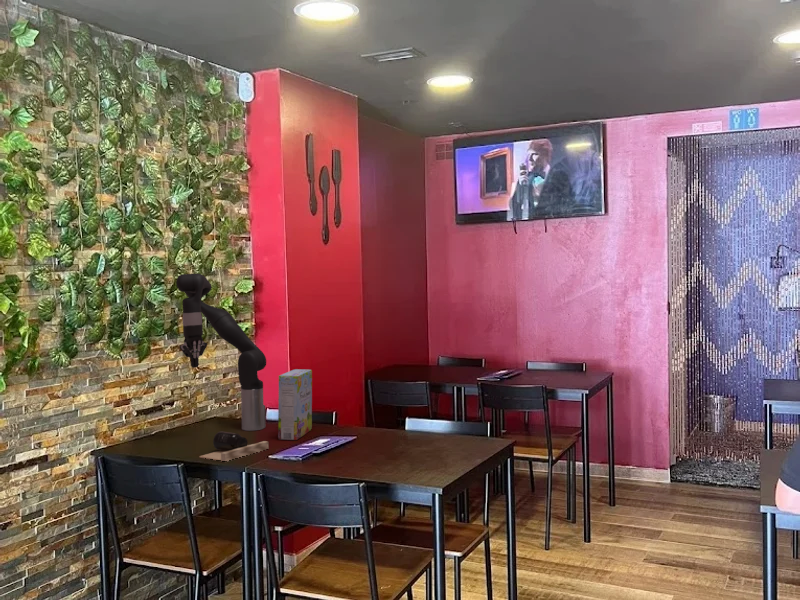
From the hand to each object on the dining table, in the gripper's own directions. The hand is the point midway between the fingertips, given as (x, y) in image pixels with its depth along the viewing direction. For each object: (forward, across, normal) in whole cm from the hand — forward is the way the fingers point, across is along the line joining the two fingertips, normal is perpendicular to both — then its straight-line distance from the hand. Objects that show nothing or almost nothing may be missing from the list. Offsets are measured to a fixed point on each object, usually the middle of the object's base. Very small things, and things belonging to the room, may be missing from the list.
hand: (194, 367), depth 308 cm
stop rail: (+30, +11, +36) cm, 48 cm away
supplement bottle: (+25, +10, +22) cm, 35 cm away
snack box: (+30, -26, +29) cm, 49 cm away
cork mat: (+29, +10, +30) cm, 43 cm away
